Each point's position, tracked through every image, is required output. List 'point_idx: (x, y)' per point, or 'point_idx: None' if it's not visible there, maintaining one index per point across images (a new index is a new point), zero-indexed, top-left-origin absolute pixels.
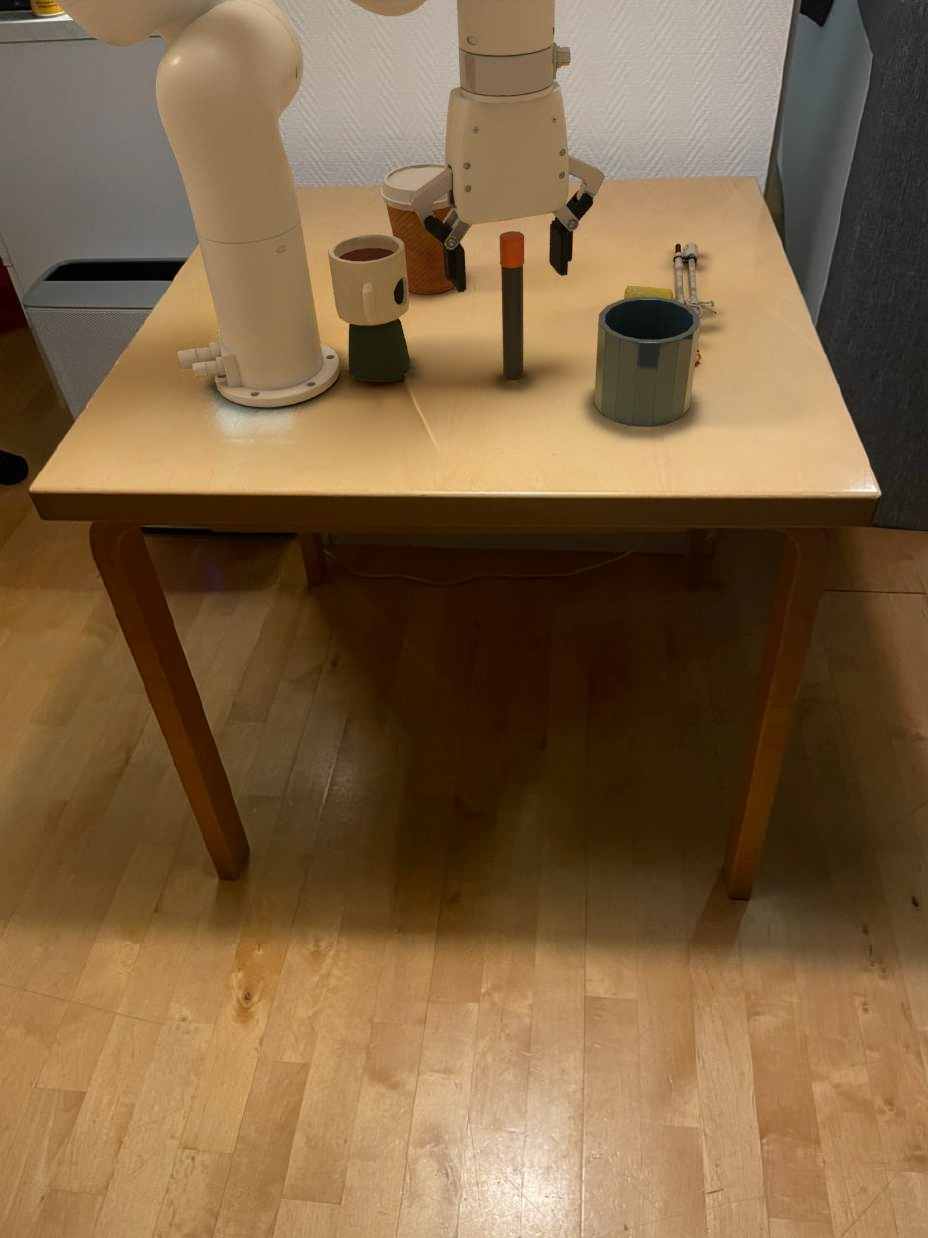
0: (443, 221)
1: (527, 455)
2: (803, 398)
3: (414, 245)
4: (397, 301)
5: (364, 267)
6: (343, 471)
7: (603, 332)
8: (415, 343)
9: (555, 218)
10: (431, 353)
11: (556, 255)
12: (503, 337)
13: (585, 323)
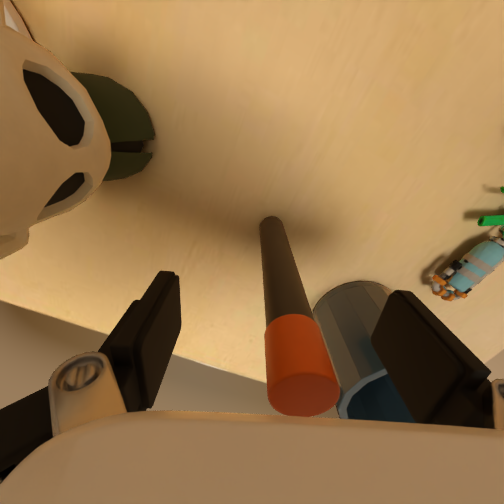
0: (52, 416)
1: (230, 335)
2: (475, 350)
3: None
4: (67, 195)
5: None
6: (71, 300)
7: (337, 401)
8: (179, 48)
9: (472, 411)
10: (196, 101)
11: (393, 350)
12: (261, 254)
13: (446, 118)
